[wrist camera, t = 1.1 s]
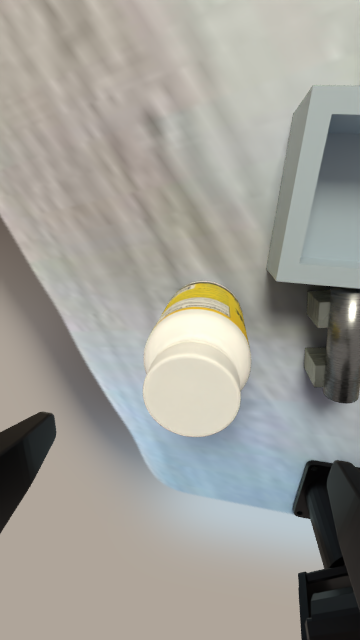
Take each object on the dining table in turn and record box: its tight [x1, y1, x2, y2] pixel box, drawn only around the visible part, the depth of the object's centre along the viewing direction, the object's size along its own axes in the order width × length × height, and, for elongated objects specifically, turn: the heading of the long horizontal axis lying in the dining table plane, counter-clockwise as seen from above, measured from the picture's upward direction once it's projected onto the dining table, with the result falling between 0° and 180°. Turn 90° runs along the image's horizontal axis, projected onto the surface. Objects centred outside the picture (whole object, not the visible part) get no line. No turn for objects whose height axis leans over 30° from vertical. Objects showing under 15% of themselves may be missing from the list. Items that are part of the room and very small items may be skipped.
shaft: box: [304, 286, 360, 403], centre depth 17 cm, size 7×3×4 cm, turn 7°
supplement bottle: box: [143, 281, 251, 437], centre depth 16 cm, size 5×5×10 cm
